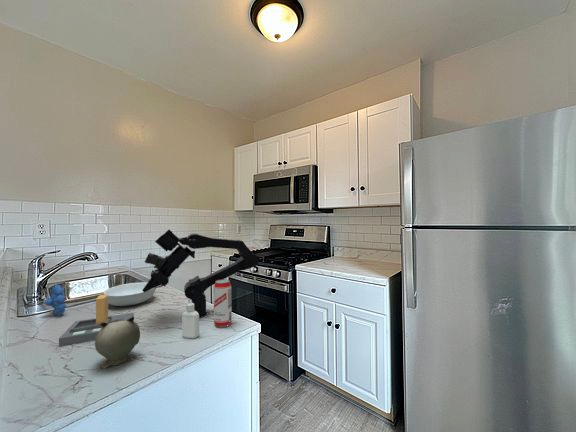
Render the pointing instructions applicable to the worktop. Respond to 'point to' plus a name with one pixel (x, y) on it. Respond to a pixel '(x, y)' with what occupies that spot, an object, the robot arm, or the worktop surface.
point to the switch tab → (102, 309)
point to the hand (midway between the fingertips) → (143, 291)
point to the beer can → (222, 303)
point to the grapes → (57, 300)
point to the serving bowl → (128, 294)
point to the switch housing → (86, 330)
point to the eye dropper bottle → (190, 322)
